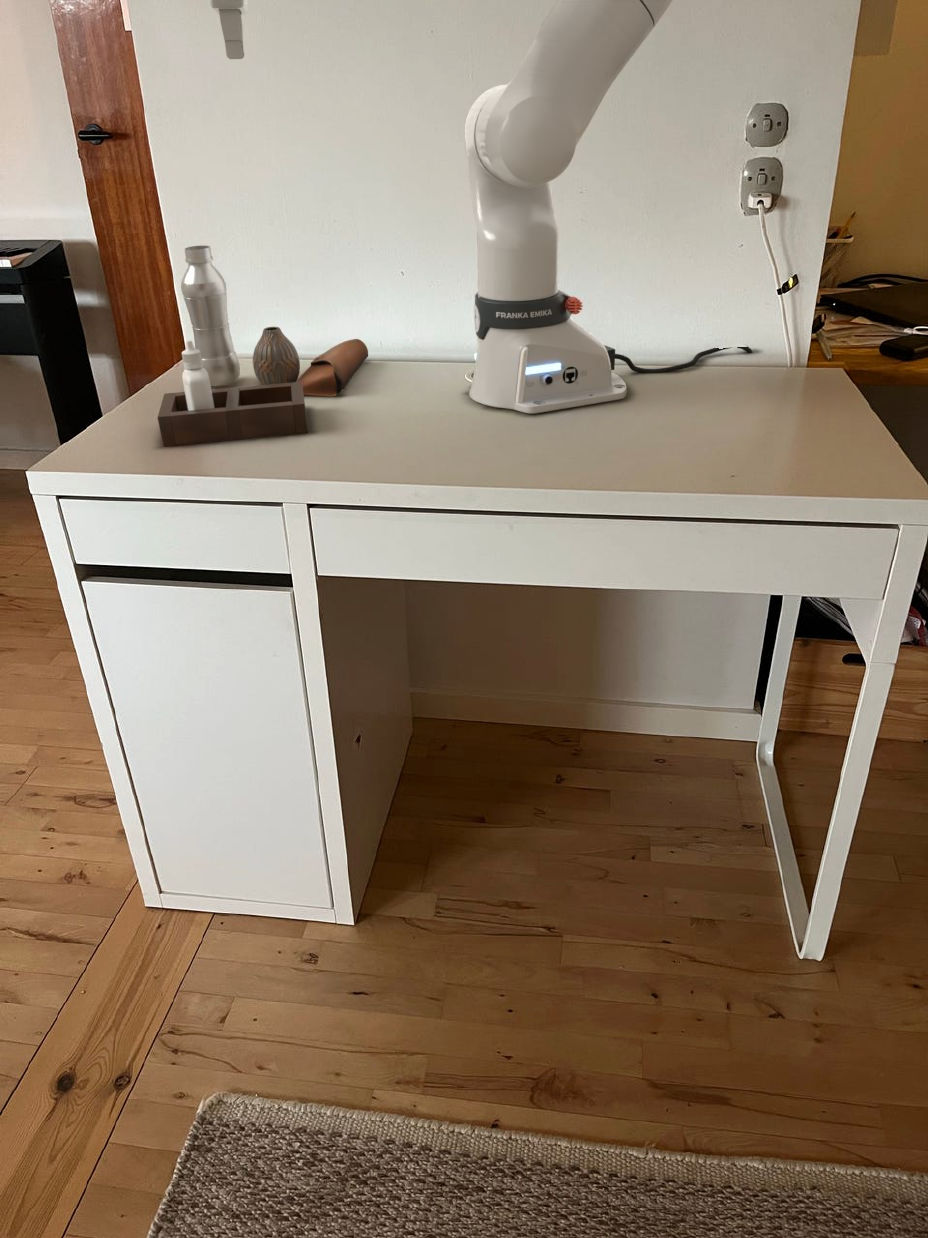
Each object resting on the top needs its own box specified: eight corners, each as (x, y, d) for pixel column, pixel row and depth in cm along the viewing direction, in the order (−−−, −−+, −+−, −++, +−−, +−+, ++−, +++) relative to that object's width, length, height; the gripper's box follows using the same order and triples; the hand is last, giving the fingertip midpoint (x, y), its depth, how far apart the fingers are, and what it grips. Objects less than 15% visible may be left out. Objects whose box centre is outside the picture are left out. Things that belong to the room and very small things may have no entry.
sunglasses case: (318, 358, 156) (334, 322, 153) (356, 380, 157) (373, 345, 154) (288, 393, 141) (305, 354, 138) (330, 416, 142) (349, 378, 139)
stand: (305, 409, 136) (301, 381, 134) (308, 432, 127) (304, 403, 125) (169, 421, 133) (164, 393, 131) (163, 446, 125) (157, 416, 123)
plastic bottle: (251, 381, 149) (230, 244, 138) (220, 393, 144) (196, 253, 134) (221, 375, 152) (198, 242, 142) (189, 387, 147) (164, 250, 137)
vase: (293, 394, 142) (285, 334, 138) (249, 393, 143) (240, 334, 139) (308, 380, 148) (301, 322, 143) (266, 379, 149) (258, 322, 145)
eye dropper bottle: (181, 436, 128) (163, 346, 122) (199, 422, 133) (183, 334, 126) (211, 437, 127) (195, 346, 121) (228, 423, 132) (213, 335, 126)
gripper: (245, -102, 96) (263, 58, 103) (248, -78, 113) (263, 58, 120) (181, -102, 95) (204, 59, 102) (194, -77, 112) (212, 59, 119)
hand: (236, 58), depth 111 cm, fingers open, 8 cm apart
